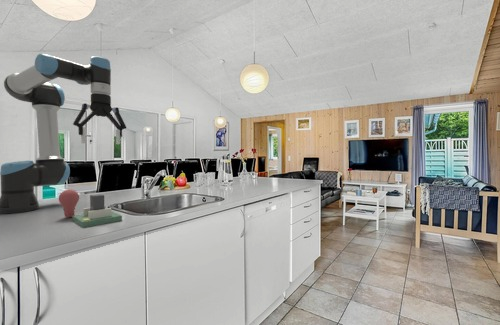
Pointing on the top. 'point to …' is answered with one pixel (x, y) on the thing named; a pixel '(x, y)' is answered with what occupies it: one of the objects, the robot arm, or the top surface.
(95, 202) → the dark gray block
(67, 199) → the light bulb
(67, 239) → the top surface
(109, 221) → the board
